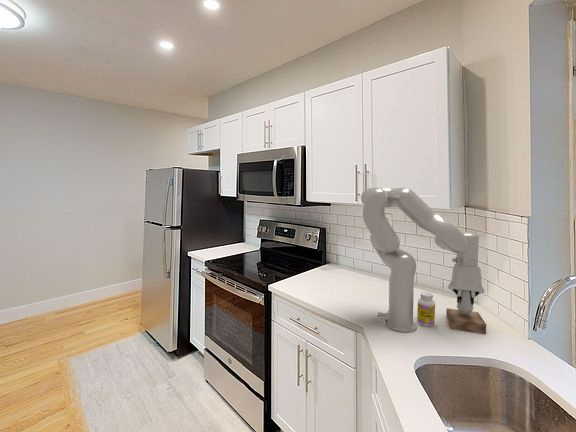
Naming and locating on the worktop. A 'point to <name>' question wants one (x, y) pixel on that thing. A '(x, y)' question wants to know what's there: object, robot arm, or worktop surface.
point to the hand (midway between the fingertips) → (465, 305)
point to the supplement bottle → (426, 309)
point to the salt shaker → (465, 303)
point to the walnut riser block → (466, 321)
